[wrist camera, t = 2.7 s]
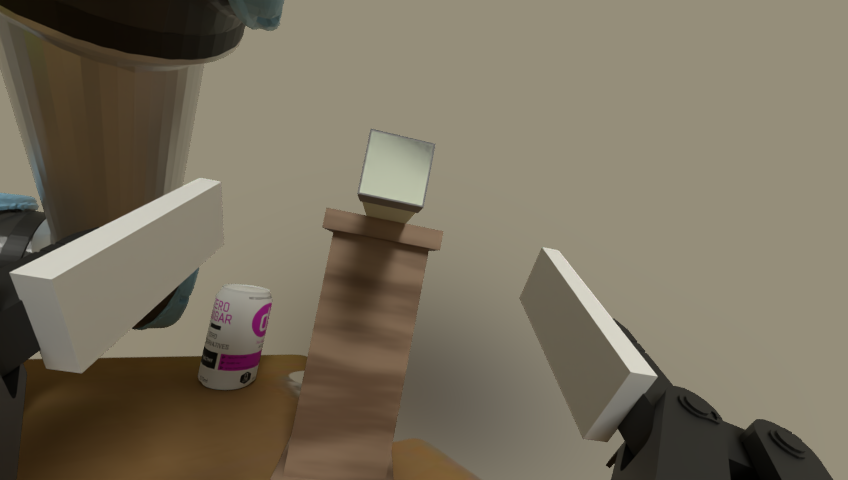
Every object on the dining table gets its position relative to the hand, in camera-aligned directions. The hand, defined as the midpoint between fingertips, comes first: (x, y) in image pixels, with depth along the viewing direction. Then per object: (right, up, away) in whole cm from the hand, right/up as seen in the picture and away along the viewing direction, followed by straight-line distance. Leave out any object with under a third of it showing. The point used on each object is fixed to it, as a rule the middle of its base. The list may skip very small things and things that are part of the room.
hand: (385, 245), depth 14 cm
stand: (-9, -26, +28) cm, 39 cm away
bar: (-3, +2, +22) cm, 22 cm away
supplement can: (-30, -23, +40) cm, 54 cm away
